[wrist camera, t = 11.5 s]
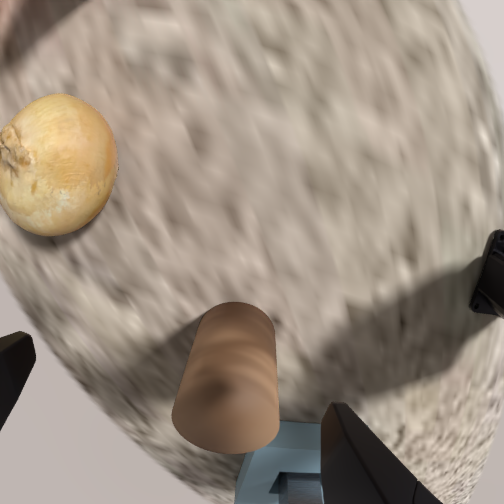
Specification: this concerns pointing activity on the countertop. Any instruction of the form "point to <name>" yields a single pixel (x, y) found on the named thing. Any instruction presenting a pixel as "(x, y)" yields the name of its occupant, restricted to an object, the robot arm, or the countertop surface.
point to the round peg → (230, 382)
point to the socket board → (279, 462)
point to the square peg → (299, 488)
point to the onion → (56, 165)
